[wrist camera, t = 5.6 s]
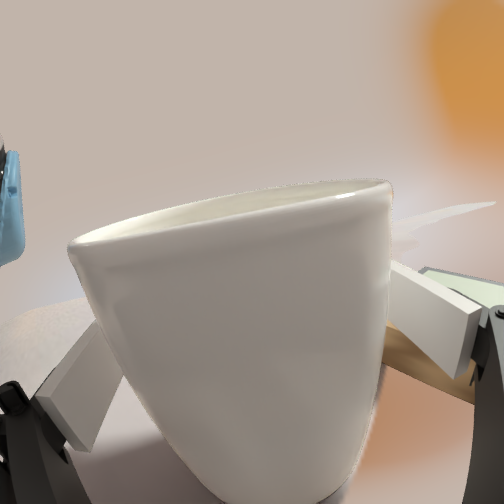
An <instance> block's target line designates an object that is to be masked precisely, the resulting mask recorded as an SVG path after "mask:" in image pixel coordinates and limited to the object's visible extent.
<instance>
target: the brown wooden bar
mask: <svg viewBox="0 0 504 504" xmlns="http://www.w3.org/2000/svg"><path fill="white" fill-rule="evenodd" d="M382 363H384V364H386V365H388V366H390V367H392V368H394V369H396V370H398V371H400V372H403V373H405V374H407V375H409V376H411V377H413V378H415V379H418V380H420V381H422V382H424V383H426V384H428V385H430V386H433V387H435V388H437V389H439V390H441V391H444V392H446V393H448V394H450V395H453V396H455V397H457V398H460V399H462V400H464V401H466V402H469V403H471V404H473V405H475V384H474V381H473V383H472V386H469V384H470V380H471V378H472V375H473V371H474V368H475V365H476V362H475V361H473V360H472V359H470V363H469V366H468V370H467V372H466V373H464V374H462V375H461V376H459V377H457V378H456V379H454V380H453V379H452V378H451V377H450V376H449V375H448V374H447V373H446V372H445V371H443V370H442V369H441V368H440V367H439V366H438V365H437V364H436V363H435V362H434V361H433V360H432V359H431V358H430V357H429V356H427V355H426V354H425V353H424V352H423V351H422V350H421V349H420V348H419V347H418V346H417V345H415V344H414V343H413V342H412V341H411V340H410V339H409V338H408V337H407V336H406V335H404V334H403V333H402V332H401V331H400V330H399V329H398V328H397V327H396V326H394V325H393V324H392V323H391V322H390V321H389V320H388V319H387V327H386V335H385V343H384V350H383V357H382Z"/></svg>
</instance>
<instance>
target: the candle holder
mask: <svg viewBox="0 0 504 504" xmlns="http://www.w3.org/2000/svg"><path fill="white" fill-rule="evenodd" d="M392 202H393V188H392V185H391V184H390V182H389V181H387V180H383V179H345V180H331V181H320V182H310V183H302V184H294V185H286V186H279V187H272V188H266V189H259V190H253V191H248V192H242V193H236V194H231V195H226V196H220V197H215V198H211V199H206V200H201V201H196V202H192V203H188V204H183V205H179V206H175V207H170V208H166V209H162V210H159V211H155V212H151V213H148V214H144V215H140V216H136V217H133V218H130V219H126V220H123V221H120V222H117V223H113V224H111V225H108V226H105V227H102V228H99V229H96V230H93V231H91V232H88V233H86V234H83V235H81V236H79V237H77V238H75V239H73V240H72V241H70V242H69V244H68V246H67V252H68V256H69V259H70V261H71V263H72V265H73V267H74V268H75V270H76V273H77V275H78V278H79V280H80V283H81V285H82V287H83V290H84V292H85V295H86V297H87V300H88V302H89V304H90V307H91V309H92V311H93V314H94V316H95V318H96V320H97V323H98V325H99V327H100V329H101V331H102V333H103V335H104V338H105V340H106V342H107V344H108V346H109V348H110V350H111V352H112V354H113V355H114V357H115V359H116V361H117V363H118V365H119V367H120V368H121V370H122V372H123V374H124V376H125V377H126V379H127V381H128V383H129V384H130V386H131V388H132V389H133V391H134V393H135V394H136V396H137V398H138V399H139V401H140V402H141V404H142V406H143V407H144V409H145V410H146V412H147V413H148V415H149V416H150V418H151V419H152V421H153V422H154V424H155V425H156V426H157V428H158V429H159V431H160V432H161V434H162V435H163V436H164V438H165V439H166V440H167V442H168V443H169V444H170V446H171V447H172V448H173V450H174V451H175V452H176V454H177V455H178V456H179V457H180V459H181V460H182V461H183V462H184V463H185V465H186V466H187V467H188V468H189V469H190V471H191V472H192V473H193V474H194V475H195V476H196V477H197V479H198V480H199V481H200V482H201V483H202V484H203V485H204V486H205V487H206V488H207V489H208V490H209V491H210V492H211V493H212V494H214V495H215V496H216V497H217V498H219V499H220V500H222V501H223V502H225V503H227V504H316V503H318V502H320V501H322V500H323V499H325V498H327V497H328V496H330V495H331V494H332V493H334V492H335V491H336V490H337V489H338V488H339V487H340V486H341V485H342V484H343V483H344V482H345V481H346V480H347V478H348V477H349V476H350V474H351V473H352V471H353V469H354V467H355V465H356V463H357V461H358V458H359V456H360V453H361V450H362V447H363V443H364V440H365V437H366V433H367V429H368V426H369V422H370V418H371V414H372V409H373V405H374V400H375V396H376V391H377V386H378V380H379V375H380V369H381V363H382V357H383V350H384V343H385V335H386V327H387V317H388V307H389V294H390V278H391V245H392Z"/></svg>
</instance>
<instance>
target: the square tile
mask: <svg viewBox="0 0 504 504" xmlns="http://www.w3.org/2000/svg"><path fill="white" fill-rule="evenodd" d="M418 273H420V274H422V275H424V276H426V277H428V278H430V279H432V280H434V281H436V282H438V283H440V284H441V285H443V286H445V287H448V288H452V289H455V290H457V291H459V292H461V293H462V294H463V295H466V296H468V297H469V298H472V299H473V300H475V301H477V302H479V303H480V304H482V305H484V306H486V307H488V308H489V309H490V308H491V307H493V306H495V305H504V284H503V283H500V282H495V281H491V280H486V279H482V278H477V277H472V276H467V275H463V274H458V273H453V272H449V271H444V270H439V269H434V268H429V267H424V268H422V269H421V270H420V271H418Z"/></svg>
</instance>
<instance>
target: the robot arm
mask: <svg viewBox="0 0 504 504" xmlns="http://www.w3.org/2000/svg"><path fill="white" fill-rule="evenodd" d="M24 248H25V231H24V219H23V207H22V193H21V176H20V162H19V154H18V152H17V151H11V150H10V151H8V152H7V153H5V150H4V144H3V138H2V135H1V134H0V267H1V266H2V265H5V264H7V263H9V262H12V261H14V260H16V259H18V258H19V257H20V256H21V254H22V253H23V251H24ZM387 319H388V320H389V321H390V322H391V323H392V324H393V325H394V326H396V327H397V328H398V329H399V330H400V331H401V332H402V333H403V334H404V335H406V336H407V337H408V338H409V339H410V340H411V341H412V342H413V343H414V344H415V345H417V346H418V347H419V348H420V349H421V350H422V351H423V352H424V353H425V354H426V355H427V356H429V357H430V358H431V359H432V360H433V361H434V362H435V363H436V364H437V365H438V366H439V367H440V368H441V369H442V370H443V371H445V372H446V373H447V374H448V375H449V376H450V377H451V378H452V379H453V380H454V379H456V378H457V377H459V376H461V375H462V374H464V373H466V372H467V370H468V366H469V363H470V359H472V360H473V361H475V362H476V365H475V368H474V371H473V375H472V378H471V380H470V384H469V386H472V383H473V381H474V384H475V409H474V411H475V412H474V430H473V442H472V451H471V459H470V466H469V473H468V478H467V484H466V489H465V493H464V497H463V502H462V504H504V305H495V306H493V307H491V308H490V309H489V308H488V307H486V306H484V305H482V304H480V303H479V302H477V301H475V300H473V299H472V298H469V297H468V296H466V295H463V294H462V293H461V292H459V291H457V290H455V289H452V288H448V287H445V286H443V285H441V284H440V283H438V282H436V281H434V280H432V279H430V278H428V277H426V276H424V275H422V274H420V273H418V272H417V271H414V270H413V269H411V268H409V267H407V266H405V265H403V264H401V263H399V262H397V261H395V260H393V259H391V278H390V294H389V307H388V317H387ZM123 375H124V374H123V372H122V370H121V368H120V367H119V365H118V363H117V361H116V359H115V357H114V355H113V354H112V352H111V350H110V348H109V346H108V344H107V342H106V340H105V338H104V335H103V333H102V331H101V329H100V327H99V325H98V323H97V320H96V319H95V321H94V322H93V323H92V324H91V325H90V326H89V328H88V329H87V330H86V331H85V332H84V333H83V335H82V336H81V337H80V338H79V339H78V341H77V342H76V343H75V344H74V345H73V347H72V348H71V349H70V350H69V352H68V353H67V354H66V355H65V357H64V358H63V359H62V360H61V362H60V363H59V364H58V365H57V367H55V368H54V369H53V370H52V371H51V373H50V374H49V375H48V378H46V379H45V380H44V383H42V384H41V386H40V387H39V388H38V390H37V391H36V392H35V394H34V395H33V397H32V398H31V399H30V400H29V399H28V397H27V396H26V394H25V392H24V391H23V389H22V388H21V386H20V384H19V383H18V382H17V381H10V382H6V383H4V384H3V385H1V386H0V408H1V409H2V411H3V412H4V413H5V414H0V455H1V456H2V457H3V458H4V459H3V463H2V462H1V461H0V504H92V503H91V501H90V500H89V498H88V496H87V494H86V492H85V490H84V488H83V485H82V483H81V481H80V479H79V477H78V475H77V472H76V470H75V468H74V465H73V463H72V460H71V458H70V455H69V453H68V451H67V450H66V449H65V447H64V444H65V442H66V440H67V441H68V443H69V444H70V445H71V446H72V447H73V449H74V450H77V451H83V452H91V449H92V447H93V444H94V442H95V439H96V437H97V434H98V432H99V430H100V427H101V425H102V422H103V420H104V418H105V415H106V413H107V411H108V408H109V406H110V404H111V402H112V399H113V397H114V395H115V393H116V390H117V388H118V386H119V384H120V382H121V379H122V377H123Z"/></svg>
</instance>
